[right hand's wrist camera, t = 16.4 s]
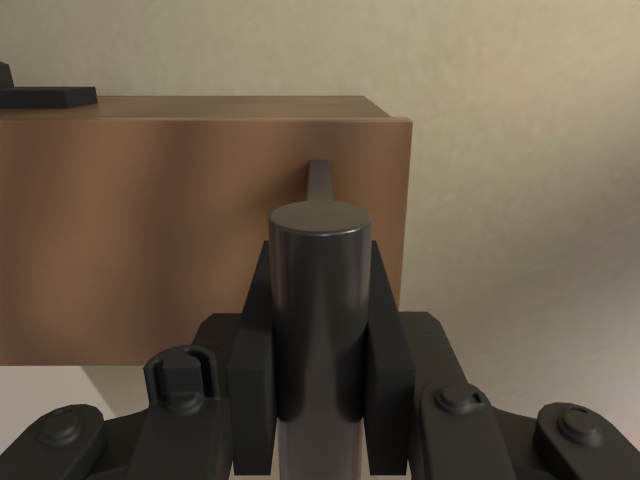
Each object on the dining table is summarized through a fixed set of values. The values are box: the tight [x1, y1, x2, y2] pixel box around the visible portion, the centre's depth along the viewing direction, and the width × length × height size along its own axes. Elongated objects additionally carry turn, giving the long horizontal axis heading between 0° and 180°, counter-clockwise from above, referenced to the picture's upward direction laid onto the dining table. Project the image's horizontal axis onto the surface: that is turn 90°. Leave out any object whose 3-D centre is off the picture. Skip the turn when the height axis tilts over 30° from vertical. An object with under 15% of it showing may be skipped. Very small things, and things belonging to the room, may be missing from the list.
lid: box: [0, 117, 413, 480], centre depth 14 cm, size 17×10×8 cm, turn 90°
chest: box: [0, 96, 391, 117], centre depth 23 cm, size 16×10×11 cm, turn 90°
